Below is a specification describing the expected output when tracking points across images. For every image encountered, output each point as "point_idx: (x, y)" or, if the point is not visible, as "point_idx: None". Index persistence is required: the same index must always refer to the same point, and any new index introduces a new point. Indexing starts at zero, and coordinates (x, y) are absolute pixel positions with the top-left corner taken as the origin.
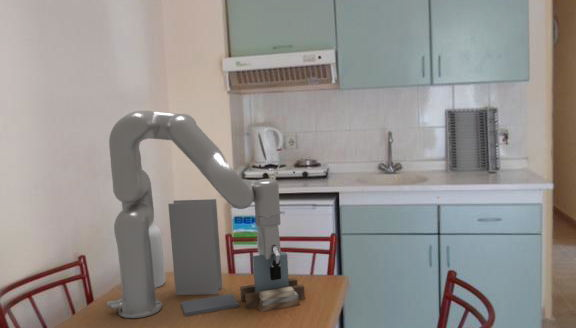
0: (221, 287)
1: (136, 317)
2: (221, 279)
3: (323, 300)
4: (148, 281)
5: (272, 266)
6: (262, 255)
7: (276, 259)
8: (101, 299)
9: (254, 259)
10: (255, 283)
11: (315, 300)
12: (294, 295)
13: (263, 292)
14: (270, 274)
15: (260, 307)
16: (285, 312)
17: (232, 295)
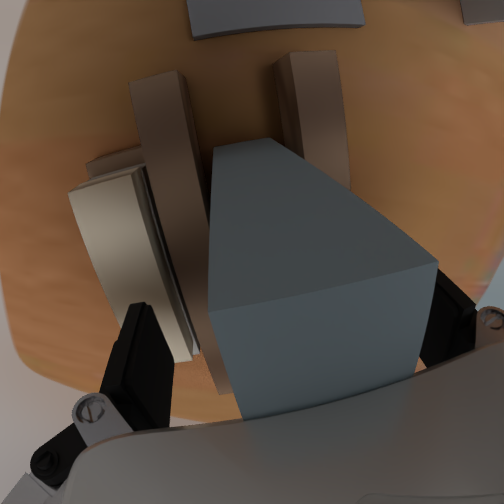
0: (466, 20)
1: None
2: (493, 18)
3: (189, 396)
4: None
5: (76, 411)
6: (237, 456)
7: (16, 490)
8: None
9: (304, 266)
10: (264, 157)
11: (194, 378)
12: None
13: (114, 205)
14: (121, 332)
15: (87, 163)
16: (82, 270)
17: (338, 19)
